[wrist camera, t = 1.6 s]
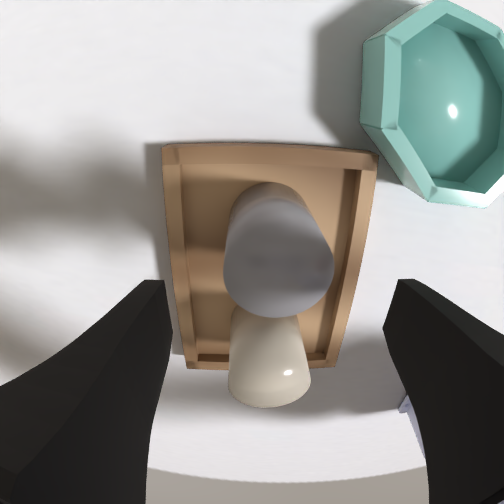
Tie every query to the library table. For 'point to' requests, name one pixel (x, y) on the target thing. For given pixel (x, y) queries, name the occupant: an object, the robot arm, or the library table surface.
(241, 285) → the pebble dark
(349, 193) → the tray
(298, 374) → the pebble light
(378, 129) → the dish
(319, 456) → the library table surface
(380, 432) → the library table surface
